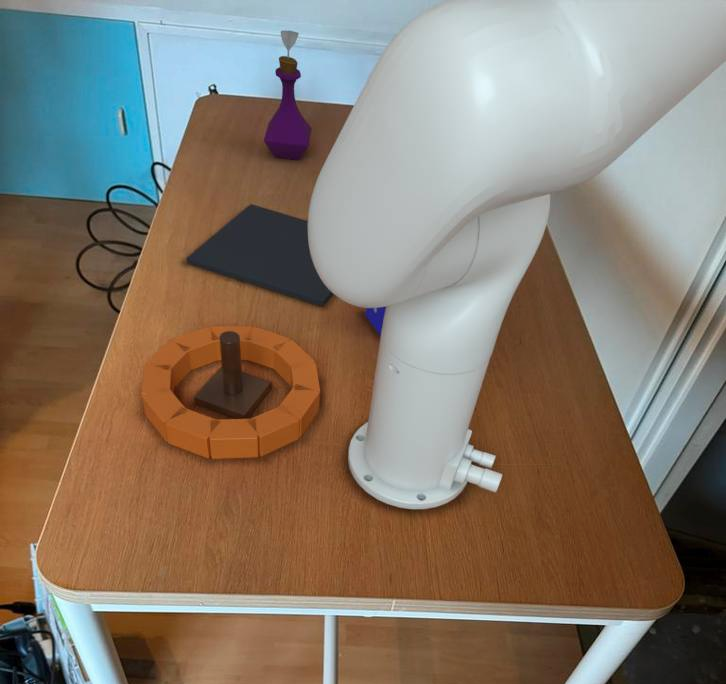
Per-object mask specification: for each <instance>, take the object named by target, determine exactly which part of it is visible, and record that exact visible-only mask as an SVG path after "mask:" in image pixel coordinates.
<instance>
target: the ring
mask: <svg viewBox="0 0 726 684" xmlns="http://www.w3.org/2000/svg"><path fill="white" fill-rule="evenodd" d="M226 331H233V332H236V333H238V334H239V336H240V349H241V361H248V362H252V363H255V364H258V365H261V366H264V367H267V368H270V369H272V370H274V371H275V372H276V373H277V374H278V375H279V376H280V377H281V378H282V379H283V380H284V381H285V382H286V383H287V384H288V385H289V386H290V391H289V392H288V394H287V395H286V396H285V398H284V399H283V400H282V402H281V403H280V404H279V406H277V407H274V408H272V409H270V410H267V411H264V412H262V413H260V414H258V415H255V416H253V417H251V418H248V419H233V418H226V419H223V418H222V419H216V418H213V417H211V416H208V415H205V414H202V413H199V412H197V411H195V410H191V409H188V408H186V406H184V404H183V403H182V402H181V400H180V399H178V397H177V396H176V395H175V388H176V387H178V385H179V384H180V383H181V382H182V381H183V380H184V379H185V378H186V376H187V375H189V374H190V372H191V371H194V370H196V369H198V368H201V367H205V366H207V365H209V364H213V363H216V362H219V361H221V351H220V339H219V337H220V335H221V334H222V333H223V332H226ZM144 364H145V365H144V366H143V374H142V384H141V391H140V395H141V400H142V405H143V410H144V413H145V416H146V418H147V419H148V421H149V422H150V423H151V424H152V425H153V427H154V428H155V429H156V431H157V432H158V433H159V435H160V436H161V437H162V438H163V440H164V441H165V442H166V443H168V444H169V445H172V446H174V447H177V448H180V449H182V450H185V451H187V452H190V453H193V454H195V455H197V456H200V457H203V458H206V459H211V460H222V459H223V460H224V459H246V458H247V459H248V458H249V459H251V458H252V459H253V458H259V457H264V456H266V455H268V454H270V453H273V452H274V451H277V450H278V449H281V448H283V447H285V446H287V445H290V444H291V443H293V442H296V441H298V440H299V439H300V438H302V436H303V435H304V434H305V432H306V431H307V429H308V427H309V426H310V424H311V423H312V422H313V420H314V419H315V417H316V416H317V415H318V413H319V412H320V411H319V410H320V401H321V386H320V380H319V373H318V365H317V363H316V360H315V359H313V357H311V356H310V354H308V353H307V352H306V351H305V350H304V349H303V348H302V347H301V346H299V345H298V343H296V342H295V341H294V340H293V339H290V338H289V337H287V336H284V335H281V334H278V333H275V332H272V331H269V330H266V329H263V328H259V327H256V326H252V325H211V326H206V327H203V328H199V329H197V330H194V331H191V332H188V333H184V334H182V335H179V336H177V337H173V338H171V340H170V339H169V340H168V341H166V343H165V344H164V345H163V346H161V347H160V348H159V349H158V351H157V352H156V353H154V354H153V355H152V356H151V357H150V358H149V359H148V360H147V361H146V362H145V363H144Z"/></svg>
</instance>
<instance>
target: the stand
mask: <svg viewBox="0 0 726 684" xmlns="http://www.w3.org/2000/svg"><path fill="white" fill-rule="evenodd" d="M219 339H220V351H221V366H220V367H219V369H218V370H217V371H216V372H215V373H214V374H213V375H212V376H211V377H210V378H209V380H208V381H206V383H205V384H204V385H203V386H202V388H200V390H198V392H197V393H196V394H195V395H194V397H193V399H194V405H195V406H198V407H200V408H203V409H206V410H208V411H211V412H214V413H216V414H218V415H222V416H225V417H228V418H229V419H250V417H251V416H252V415H253V414H254V412H255V411H256V409H257V408H258V407H259V406H260V404H261V403H262V402H263V400H265V398H266V397H267V395H268V394H269V393H270V392H271V390H272V382H271V381H270V380H266V379H265V378H261V377H258V376H255V375H252V374H249V373H246V372H243V369H242V360H241V349H240V336H239V334H238V333H236V332H233V331H226V332H223V333H222V334H221V335H220V337H219Z"/></svg>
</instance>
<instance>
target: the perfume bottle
mask: <svg viewBox="0 0 726 684" xmlns="http://www.w3.org/2000/svg"><path fill="white" fill-rule="evenodd" d="M299 34H300V32H297V31H294V30H293V31H292V30H280V38H281V42H282V43H283V45H284V47H285V48H286V51H287V55H282V56H279V57H278V62H279V67H277V68H276V69H275V72H274V73H275V76H276V77H278V79H279V80H280V82H281V84H282V85H281V86H282V87H281V89H282V90H281V100H280V104H279V107H278V108H277V110H276V111H275V113H274V114H273V116H272V117H271V119H270V120H269V122H268V124H267V128H266V131H265V134H264V138H263V142H264V143H265V145H266V147H267V148H268V149H269V151H270V153H271V154H272V155H273V157H274V158H276V159H285V160H291V161H292V160H294V161H299V160H300V159H301V158H302V157H303V155H304V153H305V152H306V151H307V149H308V148H309V146H310V140H311V134H312V127H311V125H310V124H309V123H308V121H307V120H306V118H305V117H304V116H303V114H302V112H301V111H300V109H299V108H298V107H299V106H298V105H297V102H296V97H295V84H296V82H297V81H298V80H300V78H301V77H302V74H301V70H299V69H298V61H297V60H296V59H295V58H294V57H292V56H290V50H291V49H292V48H293V47H294V45H296V42H297V40H298V38H299Z"/></svg>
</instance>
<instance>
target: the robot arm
mask: <svg viewBox="0 0 726 684" xmlns="http://www.w3.org/2000/svg"><path fill="white" fill-rule="evenodd" d="M725 62H726V0H445V1H442V2H440V3H437V4H435V5H433V6H431V7H429V8H427V9H426V10H425V9H424V11H422V12H421V13H419V14H418V15H416V16H415V17H414V18H412V19H411V20H410V21H409V22H408V23H406V25H404V26H403V27H402V28H401V29H400V30H399V31H398V32H397V33H396V34H395V35H394V37H393V38H392V39H391V40H390V41H389V42H388V44H387V45H386V47H385V48H384V49H383V51H382V53H381V54H380V55H379V58H378V60H377V61H376V63H375V65H374V66H373V68H372V70H371V72H370V74H369V75H368V77H367V80H366V82H365V84H363V87H362V89H361V90H360V93H359V95H358V97H357V99H356V101H355V103H354V105H353V107H352V109H351V111H350V112H349V114H348V116H347V119H346V120H345V122H344V124H343V126H342V128H341V130H340V132H339V134H338V135H337V136H338V137H337V138H336V140H335V141H334V143H333V146H332V148H331V149H330V151H329V153H328V155H327V156H326V159H325V162H324V164H323V165H322V167H321V170H320V171H319V174H318V176H317V179H316V180H315V181H316V182H315V184H314V186H313V191H312V194H311V198H310V201H309V207H308V213H307V214H308V216H307V221H308V243H309V249H310V254H311V258H312V261H313V264H314V267H315V269H316V271H317V273H318V275H319V277H320V279H321V280H322V282H323V283H324V284H325V286H326V287H327V288H328V289H329V290H330V291H331V292H332V293H333V295H334V296H336V297H337V298H338V299H340V300H341V301H343V302H344V303H347V304H349V305H352V306H355V307H359V308H364V309H366V308H379V307H385V306H386V309H385V314H384V319H383V326H382V331H381V336H380V338H379V346H378V352H377V358H376V365H375V373H374V380H373V384H372V385H373V386H372V392H371V399H370V400H371V401H370V407H369V412H368V419H367V420H368V421H366V422H365V423H364V424H363V425H361V426H360V427H359V428H358V429H357V430H356V431H355V432H354V433H353V435H352V437H351V438H350V442H349V447H348V453H347V454H348V455H347V462H348V463H347V464H348V468H349V471H350V473H351V475H352V477H353V479H354V480H355V481H356V483H357V484H358V486H359V487H360V488H361V489H362V490H364V492H366V494H368V495H370V496H372V497H373V498H374V499H376V500H378V501H380V502H382V503H384V504H386V505H390V506H392V507H396V508H400V509H407V510H428V509H433V508H438V507H441V506H443V505H446V504H448V503H449V502H451V501H453V500H454V499H456V498H457V497H458V496H459V495H460V494H461V493H462V492H463V491H464V490H465V487H466V486H467V484H468V483H470V484H473V485H475V486H478V488H481V489H484V490H486V491H489V492H493V493H494V494H497V491H498V489H499V486H500V483H501V481H502V477H503V473H500V472H497V471H495V470H492V468H493V465H494V462H495V460H496V456H497V455H495V454H491V453H489V452H485V451H481V450H478V449H475V448H474V447H475V446H474V445H472V444H470V440H471V437H472V434H473V431H472V429H469V428H470V423H471V421H472V418H473V414H474V412H475V407H476V405H477V402H478V399H479V395H480V392H481V388H482V386H483V382H484V379H485V375H486V373H487V370H488V366H489V363H490V359H491V357H492V355H493V352H494V349H495V345H496V342H497V339H498V337H499V336H498V335H499V333H500V330H501V327H502V324H503V321H504V320H505V319H504V318H505V316H506V314H507V310H508V308H509V306H510V303H511V301H512V299H513V297H514V295H515V293H516V290H517V289H518V287H519V285H520V283H521V281H522V280H523V277H524V276H525V274H526V272H527V270H528V268H529V267H530V265H531V263H532V262H533V259H534V257H535V255H536V253H537V251H538V248H539V246H540V244H541V241H542V240H543V238H544V234H545V231H546V227H547V224H548V219H549V216H550V208H551V194H555V193H558V192H561V191H565V190H567V189H570V188H574V187H576V186H578V185H581V184H583V183H586V182H587V181H589V180H591V179H593V178H595V177H596V176H597V175H599V174H601V173H602V172H603V171H605V170H606V169H607V168H608V167H610V165H612V164H613V163H614V162H615V161H616V160H617V159H619V158H620V157H621V156H622V155H623V154H624V153H625V152H626V151H627V150H628V149H629V148H631V147H632V146H633V145H634V144H635V143H636V142H637V141H638V140H640V139H641V138H642V136H643V135H645V133H647V132H648V131H649V130H650V129H651V128H652V127H653V126H655V125H656V124H657V123H658V122H659V121H660V120H661V119H663V118H664V117H665V116H666V115H667V114H668V113H669V112H670V111H672V110H673V109H674V108H675V107H676V106H677V105H678V104H680V103H681V101H683V100H684V99H685V98H686V97H687V96H688V95H689V94H691V92H693V91H694V90H695V89H696V88H697V87H699V86H700V85H701V84H702V83H703V82H704V81H705V80H706V79H707V78H708V77H709V76H711V75H712V74H713V73H714V72H715V71H716V70H717V69H719V68H720V67H722V65H723V64H724V63H725ZM472 463H475V464H479V466H477V465H474V464H472ZM481 466H483V467H485V468H483V467H481Z"/></svg>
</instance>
